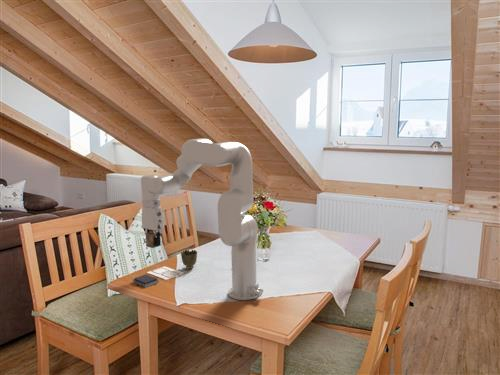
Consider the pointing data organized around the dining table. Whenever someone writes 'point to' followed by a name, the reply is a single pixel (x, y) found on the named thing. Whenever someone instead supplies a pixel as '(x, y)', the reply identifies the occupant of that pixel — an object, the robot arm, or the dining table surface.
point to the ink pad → (145, 280)
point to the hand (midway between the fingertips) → (153, 244)
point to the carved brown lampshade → (189, 258)
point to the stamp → (150, 239)
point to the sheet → (165, 273)
